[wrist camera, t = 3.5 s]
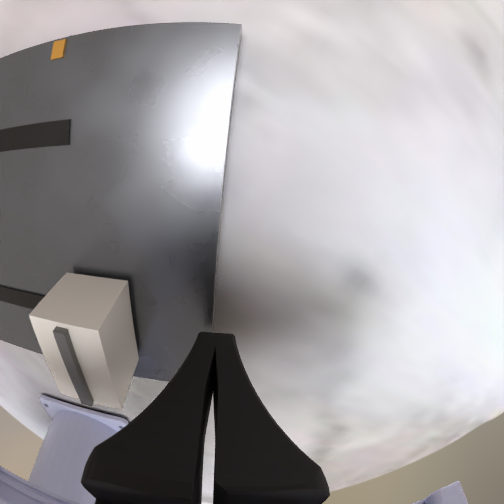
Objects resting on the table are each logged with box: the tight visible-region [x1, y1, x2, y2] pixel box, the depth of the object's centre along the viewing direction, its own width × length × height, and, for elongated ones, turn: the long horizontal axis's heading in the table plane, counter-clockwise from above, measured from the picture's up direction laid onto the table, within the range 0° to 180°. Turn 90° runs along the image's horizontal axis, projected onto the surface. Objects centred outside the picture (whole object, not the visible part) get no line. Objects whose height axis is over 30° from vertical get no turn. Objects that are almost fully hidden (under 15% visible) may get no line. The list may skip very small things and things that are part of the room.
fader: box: [29, 273, 139, 410], centre depth 10 cm, size 4×3×4 cm
